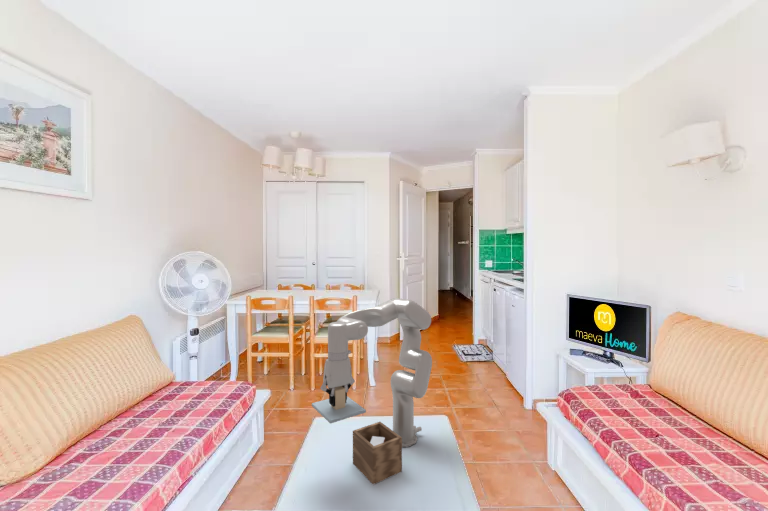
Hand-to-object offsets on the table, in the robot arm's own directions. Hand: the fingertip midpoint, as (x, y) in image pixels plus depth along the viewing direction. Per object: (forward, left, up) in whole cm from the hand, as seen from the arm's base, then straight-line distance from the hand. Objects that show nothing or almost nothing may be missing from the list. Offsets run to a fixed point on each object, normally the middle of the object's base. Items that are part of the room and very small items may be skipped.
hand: (338, 403), depth 130 cm
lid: (0, 0, -3) cm, 3 cm away
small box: (-16, +2, -30) cm, 34 cm away
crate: (-16, +2, -29) cm, 34 cm away
